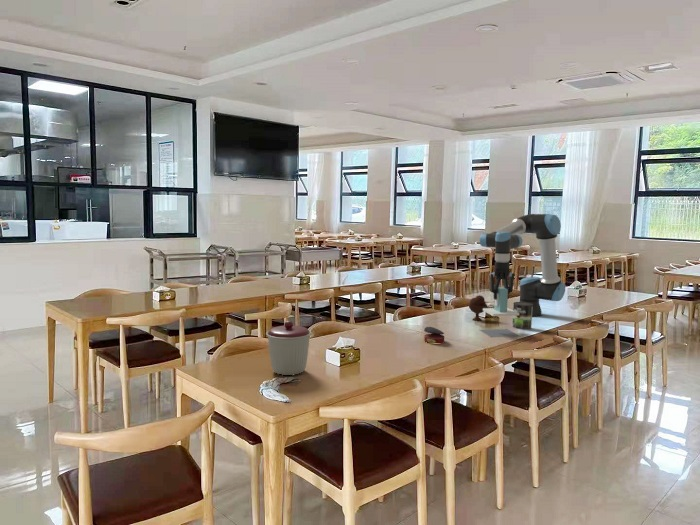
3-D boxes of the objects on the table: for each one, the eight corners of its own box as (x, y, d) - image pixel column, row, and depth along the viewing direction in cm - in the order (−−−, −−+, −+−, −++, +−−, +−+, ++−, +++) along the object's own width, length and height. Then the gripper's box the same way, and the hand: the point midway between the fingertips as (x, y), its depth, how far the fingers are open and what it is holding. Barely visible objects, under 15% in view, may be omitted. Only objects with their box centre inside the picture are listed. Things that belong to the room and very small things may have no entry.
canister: (277, 363, 222) (277, 315, 219) (317, 367, 216) (317, 317, 214) (258, 376, 204) (257, 324, 202) (301, 381, 199) (301, 327, 197)
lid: (507, 309, 282) (508, 285, 280) (519, 315, 268) (520, 290, 267) (482, 310, 280) (483, 286, 279) (493, 316, 266) (494, 290, 265)
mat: (507, 330, 284) (507, 329, 284) (520, 337, 268) (520, 336, 268) (479, 330, 282) (479, 329, 282) (491, 338, 266) (491, 337, 266)
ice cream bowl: (484, 318, 314) (485, 293, 312) (487, 322, 303) (488, 297, 301) (466, 317, 315) (467, 293, 313) (469, 321, 304) (470, 296, 302)
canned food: (423, 350, 260) (417, 331, 263) (440, 346, 264) (434, 327, 267) (433, 345, 250) (427, 325, 253) (451, 341, 254) (444, 321, 257)
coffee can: (526, 331, 281) (528, 305, 280) (509, 328, 288) (510, 303, 287) (534, 328, 289) (536, 303, 287) (517, 325, 296) (518, 301, 294)
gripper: (514, 260, 276) (513, 303, 279) (483, 260, 273) (482, 304, 276) (521, 261, 268) (519, 306, 271) (489, 262, 266) (488, 307, 269)
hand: (500, 305), depth 274 cm, fingers closed on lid, 4 cm apart
